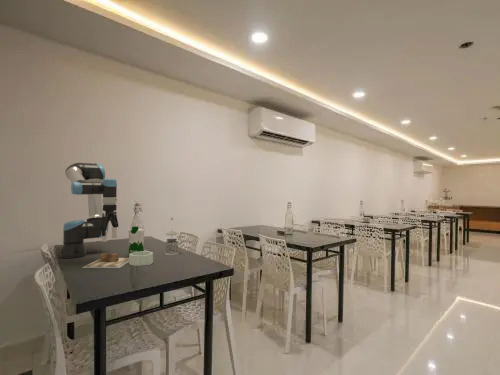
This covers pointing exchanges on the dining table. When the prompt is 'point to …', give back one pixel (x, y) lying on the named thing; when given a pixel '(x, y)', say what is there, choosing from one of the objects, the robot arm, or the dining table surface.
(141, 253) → the ceramic bowl
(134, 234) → the milk carton
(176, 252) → the french press
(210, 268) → the dining table surface
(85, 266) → the rubber mat
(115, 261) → the birch board
